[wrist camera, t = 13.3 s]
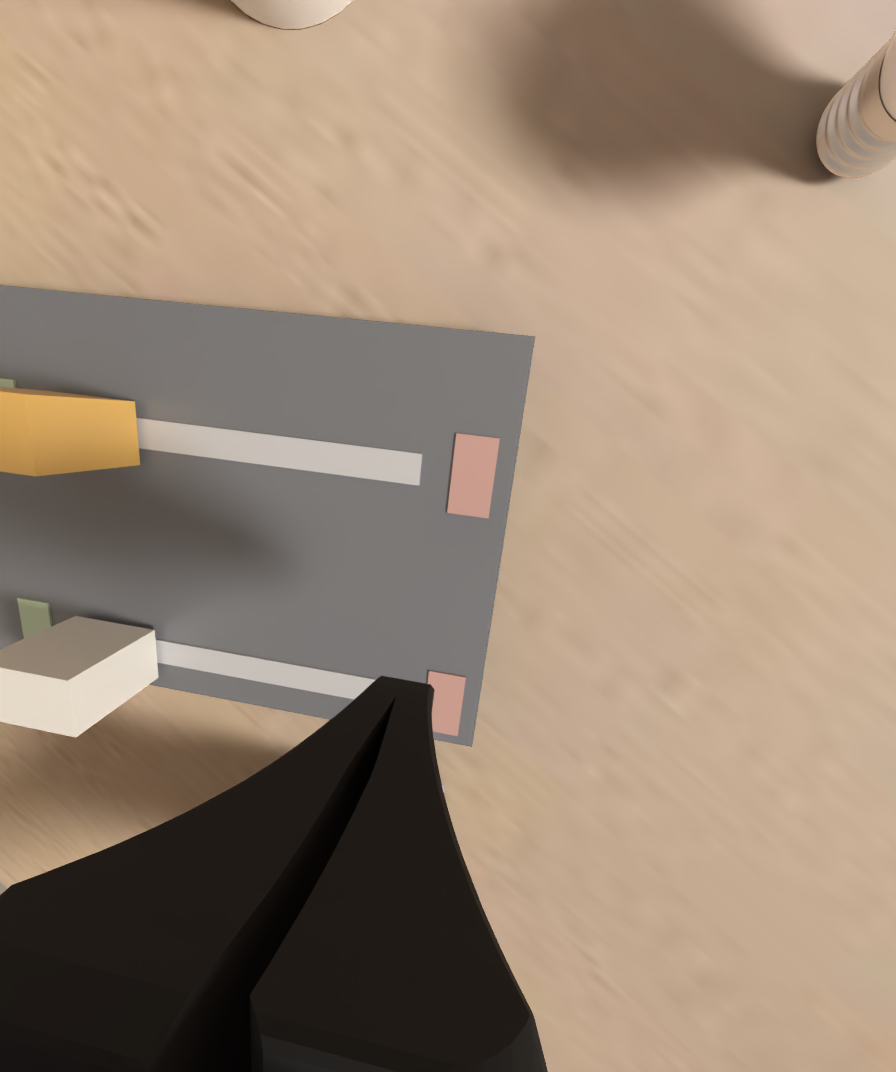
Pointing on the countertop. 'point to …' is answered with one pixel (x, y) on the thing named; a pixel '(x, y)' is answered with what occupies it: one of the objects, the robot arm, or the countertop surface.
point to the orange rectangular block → (65, 432)
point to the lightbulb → (862, 119)
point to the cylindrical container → (291, 11)
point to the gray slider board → (271, 496)
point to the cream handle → (74, 674)
